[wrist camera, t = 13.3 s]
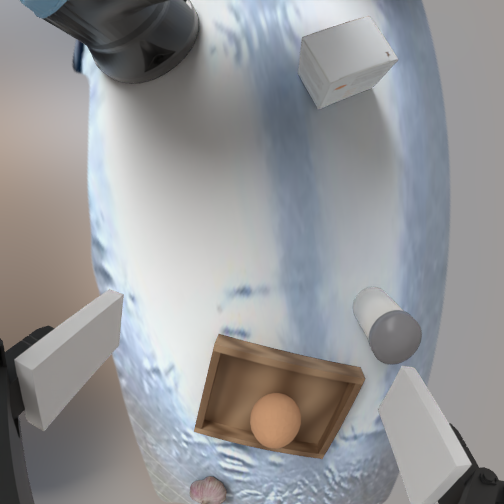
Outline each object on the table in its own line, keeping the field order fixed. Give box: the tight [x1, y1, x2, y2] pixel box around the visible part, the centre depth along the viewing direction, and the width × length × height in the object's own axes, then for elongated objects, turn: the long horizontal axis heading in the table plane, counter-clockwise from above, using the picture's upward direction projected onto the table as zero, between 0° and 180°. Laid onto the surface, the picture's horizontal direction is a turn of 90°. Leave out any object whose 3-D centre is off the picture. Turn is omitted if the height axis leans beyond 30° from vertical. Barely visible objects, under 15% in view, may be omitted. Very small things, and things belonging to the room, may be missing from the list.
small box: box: [298, 16, 398, 109], centre depth 29 cm, size 8×6×10 cm
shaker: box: [353, 287, 422, 364], centre depth 34 cm, size 5×5×11 cm
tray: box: [194, 334, 365, 459], centre depth 41 cm, size 20×16×3 cm
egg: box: [250, 393, 301, 449], centre depth 38 cm, size 7×7×9 cm
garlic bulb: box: [190, 476, 227, 504], centre depth 44 cm, size 8×7×8 cm
